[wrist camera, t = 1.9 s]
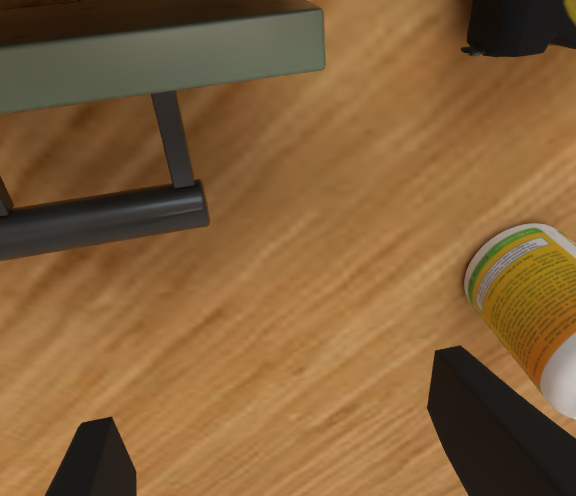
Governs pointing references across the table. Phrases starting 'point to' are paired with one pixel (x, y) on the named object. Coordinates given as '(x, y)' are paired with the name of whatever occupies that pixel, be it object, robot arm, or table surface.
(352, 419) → the table surface
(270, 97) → the table surface
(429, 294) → the table surface
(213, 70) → the drawer
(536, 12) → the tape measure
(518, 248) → the supplement bottle
